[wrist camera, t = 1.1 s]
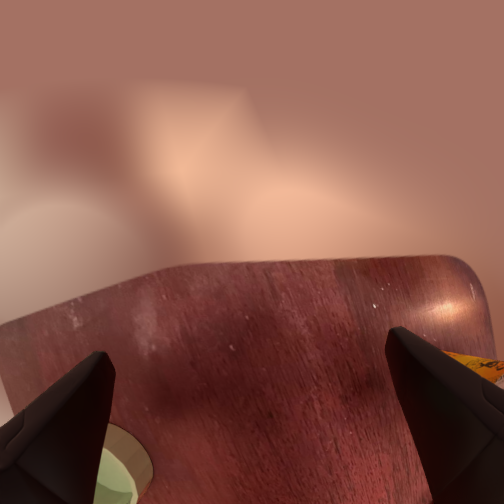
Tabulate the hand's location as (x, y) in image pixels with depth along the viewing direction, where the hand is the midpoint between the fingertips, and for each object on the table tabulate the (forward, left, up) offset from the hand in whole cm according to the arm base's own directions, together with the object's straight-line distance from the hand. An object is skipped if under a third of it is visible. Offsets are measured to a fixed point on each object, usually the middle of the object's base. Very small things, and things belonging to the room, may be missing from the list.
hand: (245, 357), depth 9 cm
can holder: (0, +20, -16) cm, 25 cm away
